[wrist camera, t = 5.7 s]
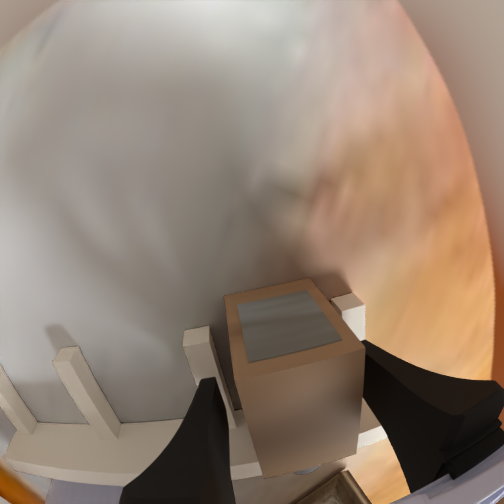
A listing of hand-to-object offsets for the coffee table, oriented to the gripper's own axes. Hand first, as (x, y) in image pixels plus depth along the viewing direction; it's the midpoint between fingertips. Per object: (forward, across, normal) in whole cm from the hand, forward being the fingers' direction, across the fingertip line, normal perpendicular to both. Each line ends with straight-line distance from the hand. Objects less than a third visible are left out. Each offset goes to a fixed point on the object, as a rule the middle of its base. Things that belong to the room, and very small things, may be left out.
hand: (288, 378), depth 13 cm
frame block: (+3, 0, 0) cm, 3 cm away
